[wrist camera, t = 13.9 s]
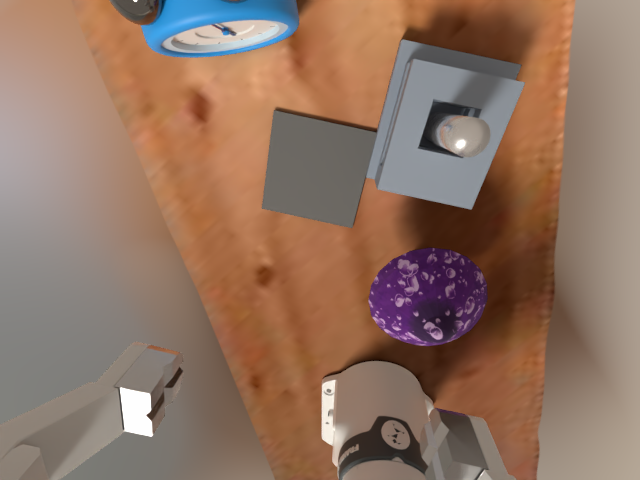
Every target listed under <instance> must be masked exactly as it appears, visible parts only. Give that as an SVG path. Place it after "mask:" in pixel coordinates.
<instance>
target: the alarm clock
mask: <svg viewBox="0 0 640 480" xmlns="http://www.w3.org/2000/svg"><path fill="white" fill-rule="evenodd" d="M109 1H110V2H111V4H112V5H113V6H114V8H115V9H116V10H117V11H118V12H119V13H120V14H121V15H122V16H123V17H125V18H126V19H127V20H129V21H131V22H133V23H135V24H138V25H141V27H142V30H143V33H144V36H145V39H146V42H147V44H148V46H149V47H150V48H151V49H152V50H154V51H155V52H158V53H160V54H163V55H167V56H173V57H212V56H222V55H229V54H235V53H241V52H246V51H250V50H254V49H258V48H262V47H265V46H268V45H271V44H274V43H277V42H279V41H282V40H284V39H286V38H287V37H289V36H291V35H292V34H293V33H294V32H295V31H296V30H297V28H298V25H299V15H298V9H297V3H296V0H109Z"/></svg>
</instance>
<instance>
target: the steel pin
mask: <svg viewBox="0 0 640 480" xmlns="http://www.w3.org/2000/svg"><path fill="white" fill-rule="evenodd" d="M423 135H424V137H425V138H426V139H427V140H429V141H431V142H433V143H435V144H437V145H439V146H441V147H443V148H445V149H447V150H449V151H451V152H453V153H455V154H457V155H459V156H461V157H473V156H476V155H478V154H479V153H481V152H482V151H483V150H484V149H485V148H486V147H487V145H488V143H489V140H490V135H491V133H490V128H489V126H488V124H487V123H486V122H485V121H484V120H482V119H480V118H475V117H468V116H461V115H454V114H448V113H441V112H437V113H433V114H431V115H430V116H428V118H427V121H426V125H425V128H424V131H423Z"/></svg>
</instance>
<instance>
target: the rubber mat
mask: <svg viewBox="0 0 640 480" xmlns="http://www.w3.org/2000/svg"><path fill="white" fill-rule="evenodd" d="M376 134H377V132H373V131H368V130H364V129H359V128H354V127H350V126H345V125H340V124H336V123H331V122H327V121H322V120H317V119H313V118H308V117H303V116H299V115H294V114H289V113H285V112H280V111H275V110H274V113H273V122H272V130H271V138H270V146H269V154H268V163H267V171H266V179H265V187H264V195H263V204H262V209H267V210H271V211H276V212H280V213H285V214H290V215H294V216H299V217H303V218H308V219H313V220H317V221H322V222H326V223H331V224H336V225H340V226H345V227H349V228H352V227H353V223H354V219H355V215H356V211H357V207H358V204H359V200H360V196H361V192H362V188H363V184H364V180H365V177H366V173H367V169H368V165H369V161H370V157H371V153H372V149H373V146H374V142H375V138H376Z"/></svg>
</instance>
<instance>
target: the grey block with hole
mask: <svg viewBox="0 0 640 480" xmlns="http://www.w3.org/2000/svg"><path fill="white" fill-rule="evenodd" d="M520 68H521V65H520V64H515V63H511V62H506V61H501V60H497V59H492V58H487V57H483V56H478V55H473V54H469V53H464V52H459V51H455V50H450V49H445V48H440V47H436V46H431V45H426V44H422V43H417V42H412V41H408V40H403V39H402V40H401V41H400V44H399V48H398V51H397V55H396V59H395V63H394V67H393V71H392V75H391V79H390V82H389V86H388V90H387V94H386V98H385V102H384V106H383V110H382V113H381V117H380V121H379V125H378V129H377V134H376V138H375V142H374V146H373V149H372V153H371V157H370V161H369V165H368V169H367V173H366V178H371V179H375V183H376V186H377V189H379V190H383V191H388V192H392V193H397V194H402V195H406V196H411V197H416V198H420V199H425V200H429V201H434V202H439V203H443V204H448V205H452V206H457V207H462V208H466V209H471V210H472V207H473V205H474V203H475V200H476V198H477V195H478V193H479V191H480V188H481V186H482V184H483V181H484V179H485V177H486V174H487V172H488V169H489V167H490V165H491V162H492V160H493V158H494V155H495V153H496V151H497V148H498V146H499V143H500V141H501V139H502V136H503V134H504V132H505V129H506V127H507V125H508V122H509V120H510V117H511V115H512V113H513V110H514V108H515V106H516V103H517V101H518V99H519V96H520V94H521V91H522V89H523V87H524V84H525V82H520V81H516V77H517V75H518V72H519V70H520ZM437 112H441V113H448V114H454V115H461V116H468V117H475V118H480V119H482V120H484V121H485V122H486V123H487V124H488V126H489V128H490V133H491V135H490V140H489V143H488V145H487V147H486V148H485V149H484V150H483V151H482V152H481V153H479V154H478V155H476V156H473V157H461V156H459V155H457V154H455V153H453V152H451V151H449V150H447V149H445V148H443V147H441V146H439V145H437V144H435V143H433V142H431V141H429V140H427V139H426V138H425V137H424V135H423V131H424V128H425V125H426V121H427V118H428V116H430V115H431V114H433V113H437Z"/></svg>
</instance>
